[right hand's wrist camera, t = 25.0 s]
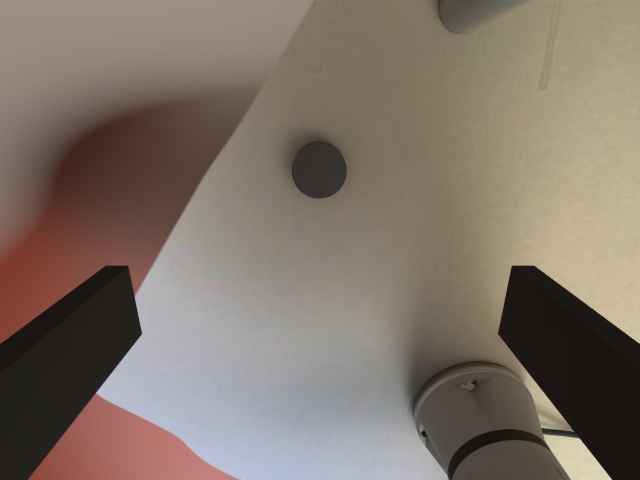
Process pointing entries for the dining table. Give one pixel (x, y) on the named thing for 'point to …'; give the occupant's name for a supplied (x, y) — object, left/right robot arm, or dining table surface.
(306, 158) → the lid
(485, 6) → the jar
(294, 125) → the dining table surface
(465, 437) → the right robot arm
